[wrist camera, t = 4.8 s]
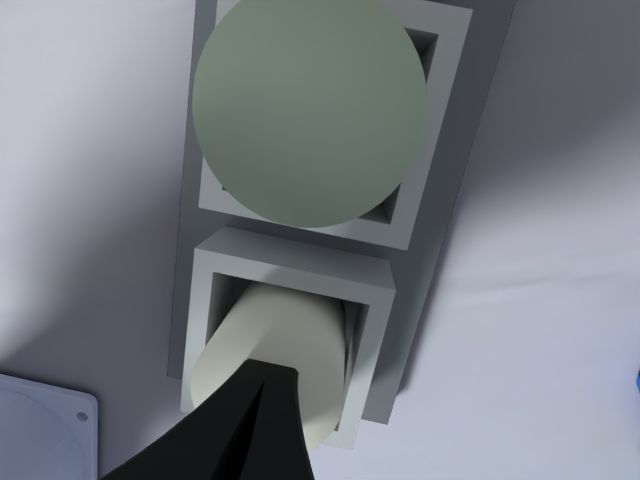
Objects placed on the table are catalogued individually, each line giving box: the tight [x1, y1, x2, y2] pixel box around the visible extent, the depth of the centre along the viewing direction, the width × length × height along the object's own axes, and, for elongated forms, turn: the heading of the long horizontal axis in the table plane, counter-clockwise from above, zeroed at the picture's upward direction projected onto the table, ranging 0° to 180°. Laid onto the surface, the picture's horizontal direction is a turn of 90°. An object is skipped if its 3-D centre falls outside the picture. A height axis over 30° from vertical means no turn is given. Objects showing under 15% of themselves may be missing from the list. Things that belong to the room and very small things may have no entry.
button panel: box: [167, 0, 516, 450], centre depth 11 cm, size 22×9×4 cm, turn 169°
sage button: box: [192, 0, 427, 228], centre depth 8 cm, size 4×4×4 cm
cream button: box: [190, 280, 346, 452], centre depth 12 cm, size 4×4×4 cm
